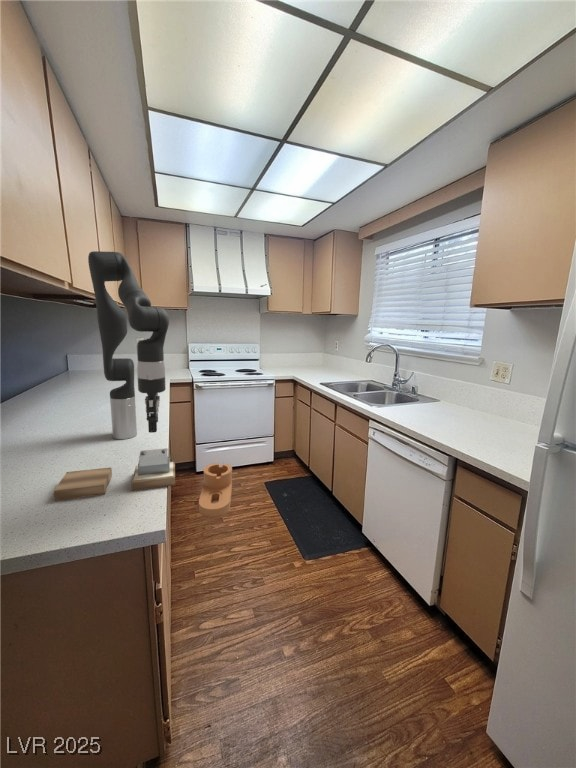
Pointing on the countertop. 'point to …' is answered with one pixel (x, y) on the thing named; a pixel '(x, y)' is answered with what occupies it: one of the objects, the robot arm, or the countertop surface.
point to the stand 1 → (83, 483)
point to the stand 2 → (153, 479)
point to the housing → (153, 462)
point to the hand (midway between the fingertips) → (153, 427)
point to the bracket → (216, 490)
